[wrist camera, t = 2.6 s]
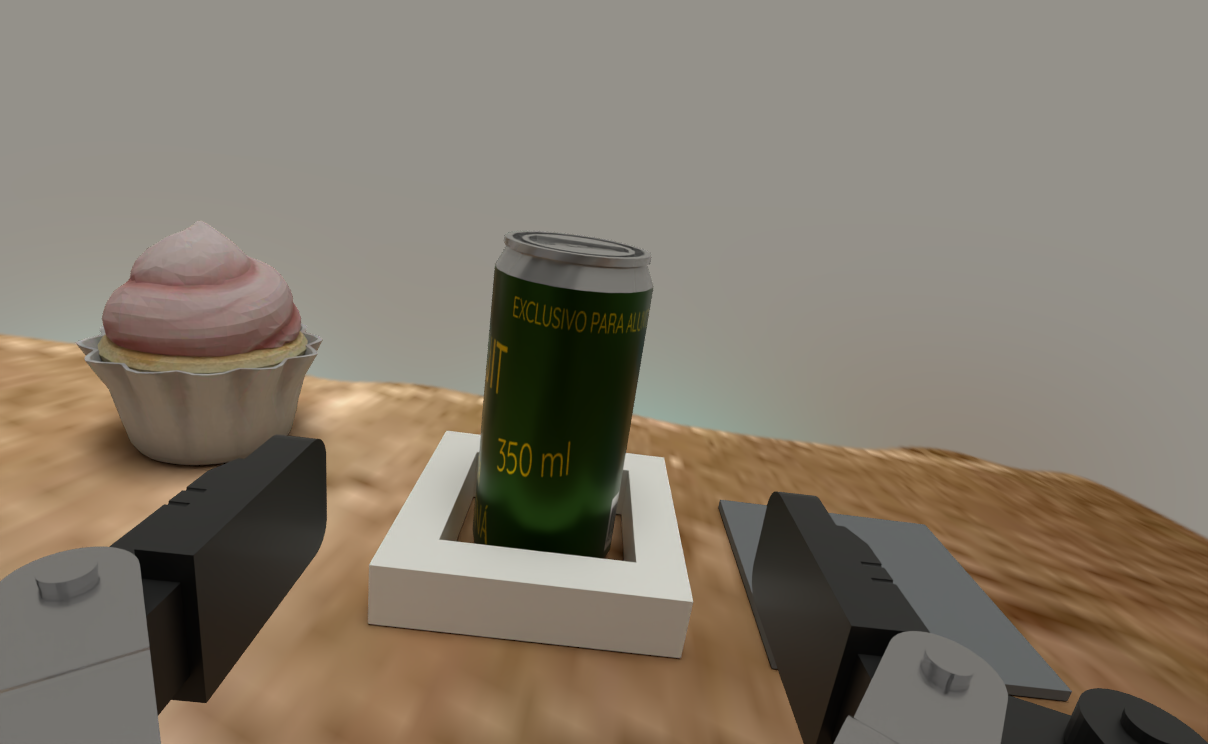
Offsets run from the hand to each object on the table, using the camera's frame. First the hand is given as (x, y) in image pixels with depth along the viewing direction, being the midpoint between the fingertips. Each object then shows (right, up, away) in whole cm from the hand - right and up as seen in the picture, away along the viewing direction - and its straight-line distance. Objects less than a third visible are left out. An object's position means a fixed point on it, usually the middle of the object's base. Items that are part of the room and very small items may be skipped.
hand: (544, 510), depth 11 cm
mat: (+11, -6, +14) cm, 19 cm away
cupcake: (-17, -1, +18) cm, 25 cm away
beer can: (-1, -5, +13) cm, 14 cm away
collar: (-1, -4, +13) cm, 14 cm away
